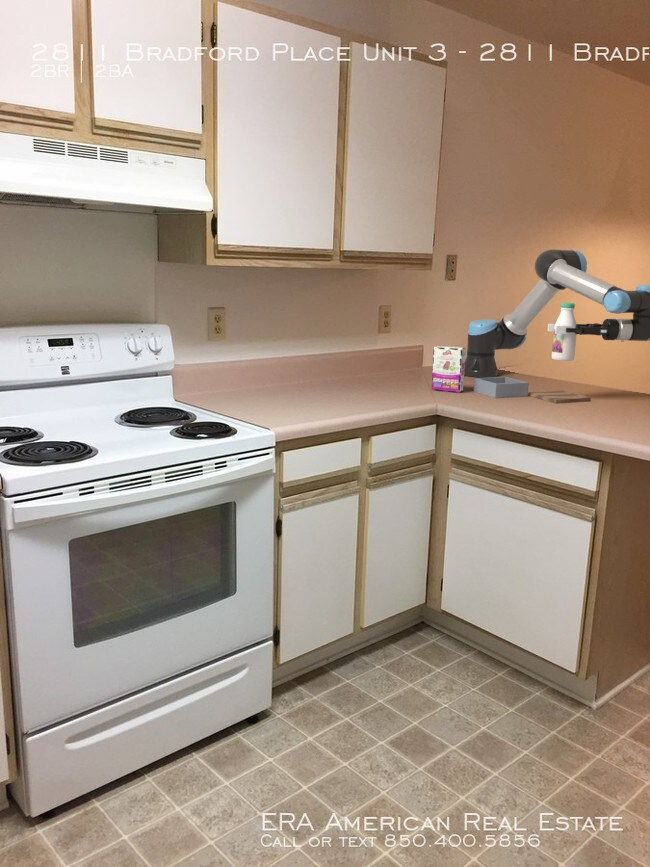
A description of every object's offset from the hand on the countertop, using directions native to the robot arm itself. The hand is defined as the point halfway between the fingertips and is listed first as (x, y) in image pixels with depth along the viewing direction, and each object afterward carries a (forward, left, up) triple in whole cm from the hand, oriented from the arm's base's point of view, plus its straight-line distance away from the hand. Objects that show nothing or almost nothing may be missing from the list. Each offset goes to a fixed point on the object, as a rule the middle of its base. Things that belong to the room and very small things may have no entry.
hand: (552, 328), depth 256 cm
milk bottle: (+2, +5, -11) cm, 12 cm away
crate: (-12, -11, -25) cm, 30 cm away
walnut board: (+2, +5, -25) cm, 25 cm away
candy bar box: (-23, -27, -25) cm, 44 cm away
